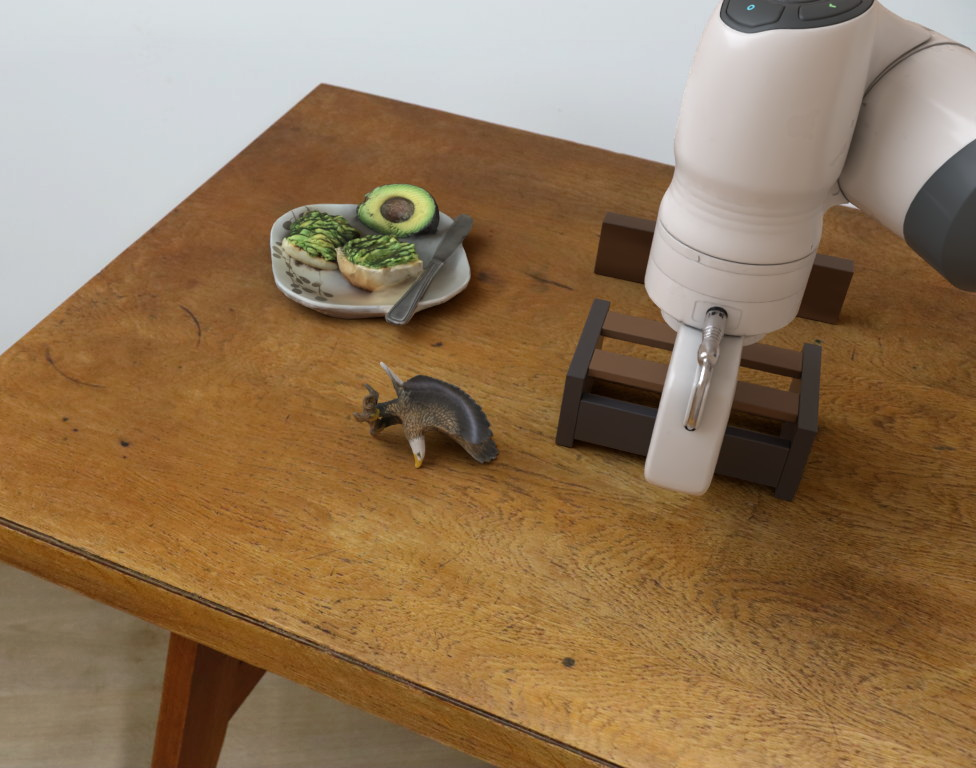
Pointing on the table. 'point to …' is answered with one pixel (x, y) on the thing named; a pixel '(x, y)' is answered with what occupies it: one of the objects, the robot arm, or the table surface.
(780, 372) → the shoe rack
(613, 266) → the board
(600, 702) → the table surface
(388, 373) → the eagle figurine
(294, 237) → the salad plate
